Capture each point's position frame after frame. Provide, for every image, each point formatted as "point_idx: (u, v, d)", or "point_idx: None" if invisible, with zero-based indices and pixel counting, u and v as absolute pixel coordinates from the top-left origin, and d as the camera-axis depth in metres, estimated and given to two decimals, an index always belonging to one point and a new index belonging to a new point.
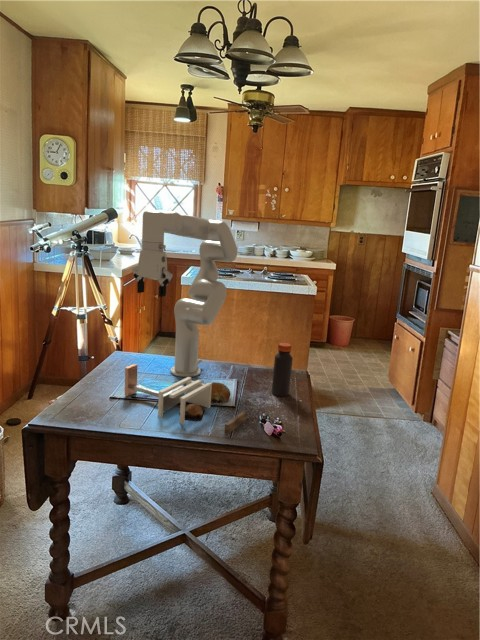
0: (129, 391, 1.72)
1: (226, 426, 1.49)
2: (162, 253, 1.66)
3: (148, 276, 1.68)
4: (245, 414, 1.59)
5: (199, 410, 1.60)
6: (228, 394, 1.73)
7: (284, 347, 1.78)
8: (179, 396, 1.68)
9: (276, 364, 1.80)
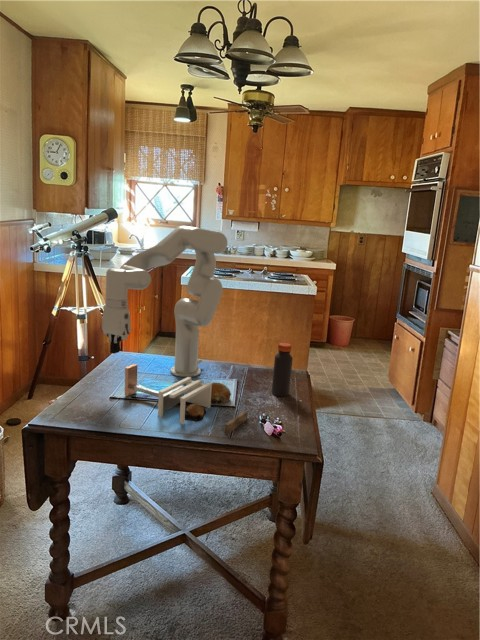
0: (129, 391, 1.72)
1: (226, 426, 1.49)
2: (125, 310, 1.68)
3: (111, 332, 1.70)
4: (245, 414, 1.59)
5: (200, 410, 1.60)
6: (228, 394, 1.73)
7: (284, 347, 1.78)
8: (179, 396, 1.68)
9: (276, 364, 1.80)
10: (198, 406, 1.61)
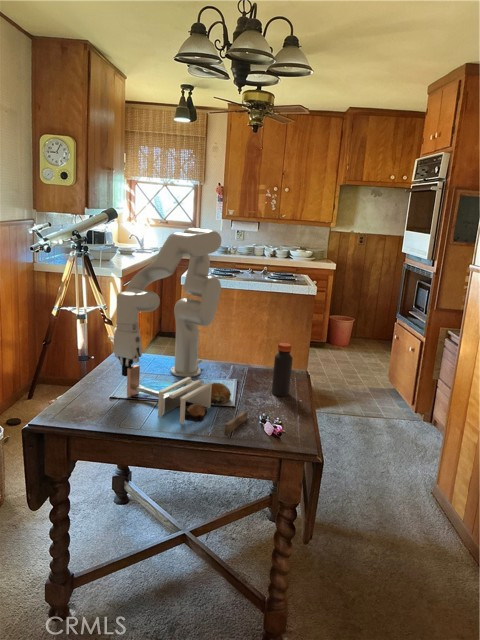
0: (131, 391, 1.71)
1: (226, 426, 1.49)
2: (136, 334, 1.67)
3: (123, 355, 1.70)
4: (245, 414, 1.59)
5: (201, 411, 1.60)
6: (228, 394, 1.73)
7: (284, 347, 1.78)
8: None
9: (276, 364, 1.80)
10: (199, 406, 1.61)
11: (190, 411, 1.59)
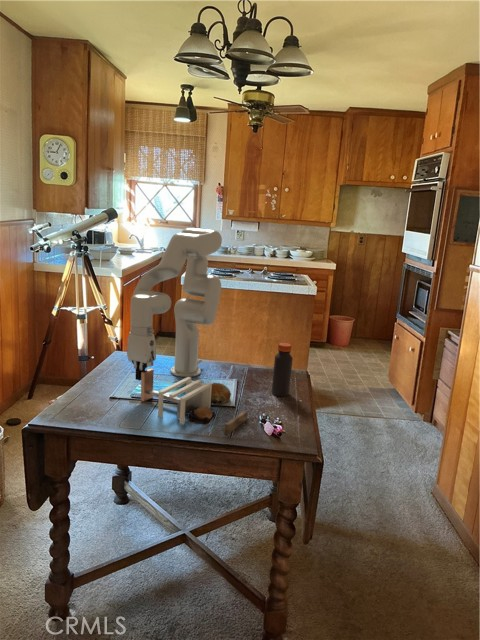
0: (145, 396, 1.69)
1: (226, 426, 1.49)
2: (150, 337, 1.64)
3: (137, 359, 1.67)
4: (245, 414, 1.59)
5: (208, 413, 1.58)
6: (228, 395, 1.73)
7: (284, 347, 1.78)
8: (197, 401, 1.64)
9: (276, 364, 1.80)
10: (206, 409, 1.59)
11: (197, 413, 1.58)
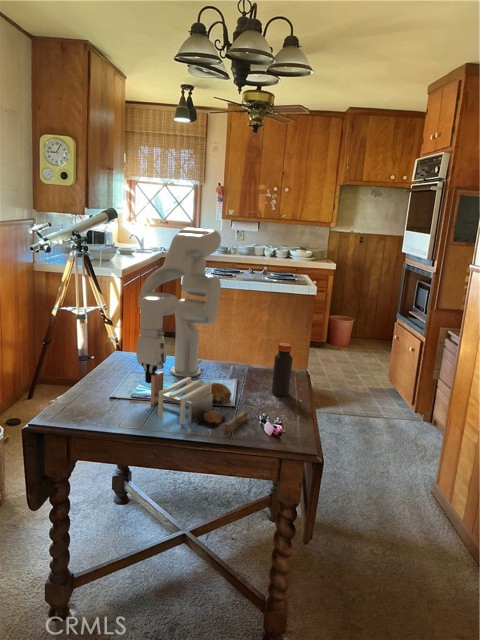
0: (155, 399, 1.67)
1: (226, 426, 1.49)
2: (161, 339, 1.62)
3: (146, 362, 1.65)
4: (245, 414, 1.59)
5: (216, 418, 1.55)
6: (228, 395, 1.73)
7: (284, 347, 1.78)
8: (207, 405, 1.62)
9: (276, 364, 1.80)
10: (216, 413, 1.57)
11: (206, 417, 1.56)
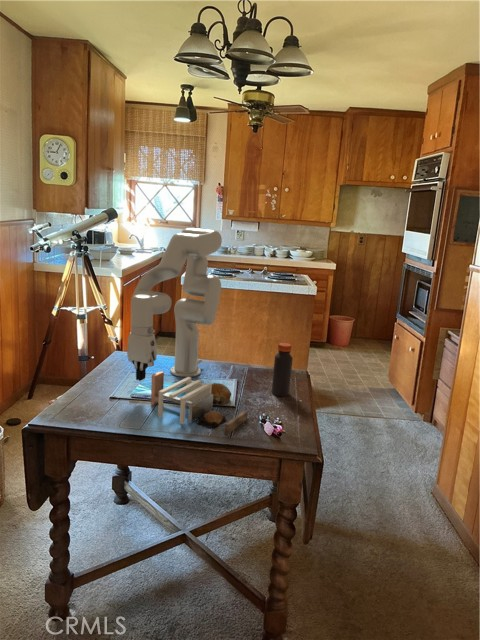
0: (156, 399, 1.67)
1: (226, 426, 1.49)
2: (151, 337, 1.64)
3: (137, 359, 1.67)
4: (245, 414, 1.59)
5: (217, 418, 1.55)
6: (228, 395, 1.73)
7: (284, 347, 1.78)
8: (208, 405, 1.62)
9: (276, 364, 1.80)
10: (216, 413, 1.57)
11: (206, 417, 1.56)
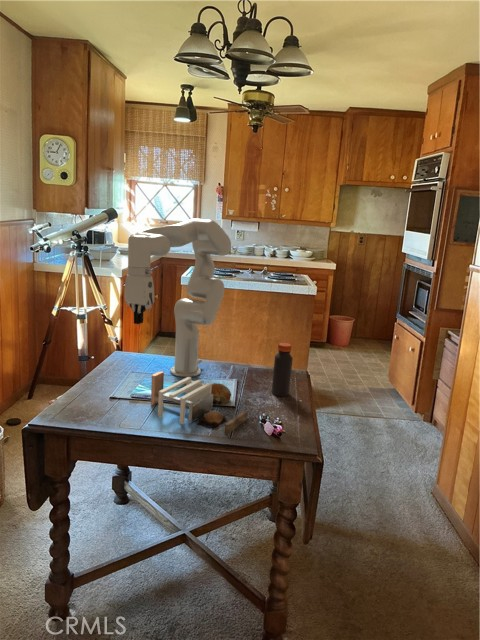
0: (156, 399, 1.67)
1: (226, 426, 1.49)
2: (149, 278, 1.61)
3: (135, 302, 1.63)
4: (245, 414, 1.59)
5: (217, 418, 1.55)
6: (229, 395, 1.72)
7: (284, 347, 1.78)
8: (208, 405, 1.62)
9: (276, 364, 1.80)
10: (216, 413, 1.57)
11: (206, 417, 1.56)
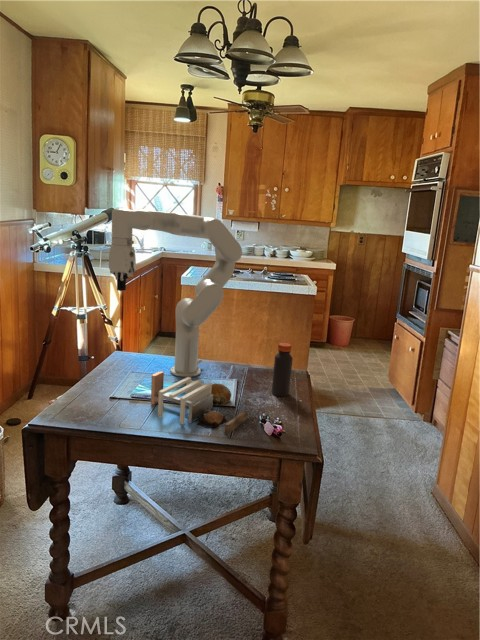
0: (155, 399, 1.67)
1: (226, 426, 1.49)
2: (130, 248, 1.77)
3: (118, 270, 1.79)
4: (245, 414, 1.59)
5: (217, 418, 1.55)
6: (229, 395, 1.72)
7: (284, 347, 1.78)
8: (208, 405, 1.62)
9: (276, 364, 1.80)
10: (216, 413, 1.57)
11: (206, 417, 1.55)
